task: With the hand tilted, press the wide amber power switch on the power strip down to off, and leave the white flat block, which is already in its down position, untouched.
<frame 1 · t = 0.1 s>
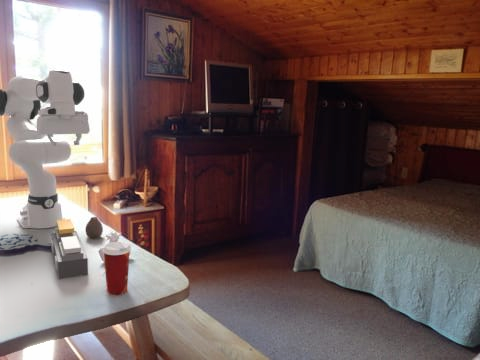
hand: (65, 145, 162), 39 cm above the table, tool pointing down, fingers open, 8 cm apart
vase: (94, 238, 171), on the table
power strip: (68, 260, 147), on the table
bust: (114, 259, 151), on the table
amber switch: (65, 226, 152), point 10 cm above the table, slide at 0.0 cm
white flat block: (70, 244, 138), point 9 cm above the table, slide at 1.3 cm
coffee cup: (116, 291, 126), on the table
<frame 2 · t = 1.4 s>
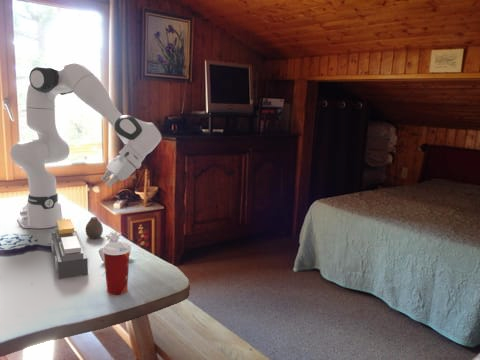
hand: (104, 182, 156), 26 cm above the table, tool tilted 45°, fingers open, 8 cm apart
nothing on the table moved.
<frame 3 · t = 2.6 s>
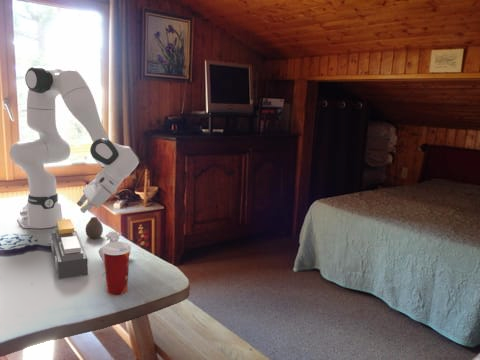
hand: (79, 208, 153), 17 cm above the table, tool tilted 45°, fingers open, 8 cm apart
nothing on the table moved.
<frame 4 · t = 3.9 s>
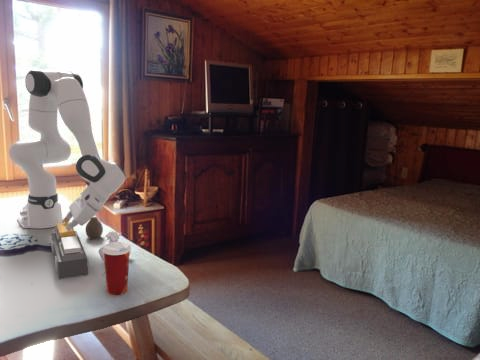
hand: (65, 225, 152), 11 cm above the table, tool tilted 45°, fingers open, 8 cm apart
amber switch: (65, 229, 152), point 9 cm above the table, slide at 1.2 cm, touching gripper
everything else where it was.
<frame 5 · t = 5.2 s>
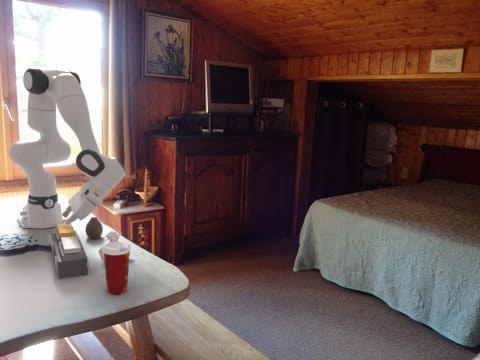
hand: (64, 219, 152), 13 cm above the table, tool tilted 45°, fingers open, 8 cm apart
amber switch: (65, 229, 152), point 9 cm above the table, slide at 1.4 cm
everything else where it was.
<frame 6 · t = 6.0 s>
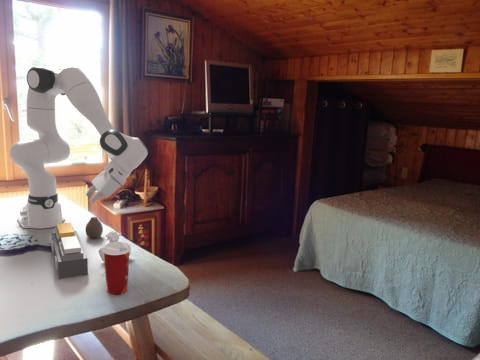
hand: (89, 198, 154), 20 cm above the table, tool tilted 45°, fingers open, 8 cm apart
nothing on the table moved.
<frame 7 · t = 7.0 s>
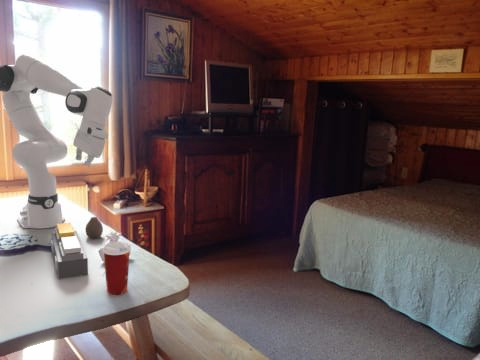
hand: (82, 162, 156), 33 cm above the table, tool tilted 15°, fingers open, 8 cm apart
nothing on the table moved.
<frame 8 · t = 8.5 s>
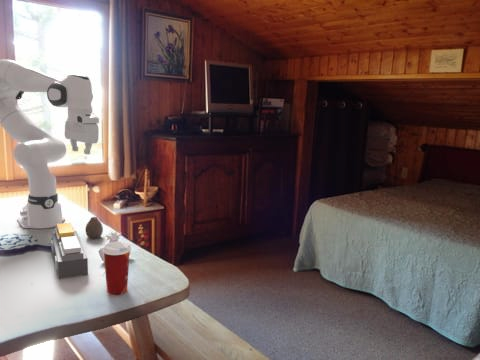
hand: (81, 152, 158), 37 cm above the table, tool pointing down, fingers open, 8 cm apart
nothing on the table moved.
at the end: amber switch slide at 1.4 cm; white flat block slide at 1.3 cm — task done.
